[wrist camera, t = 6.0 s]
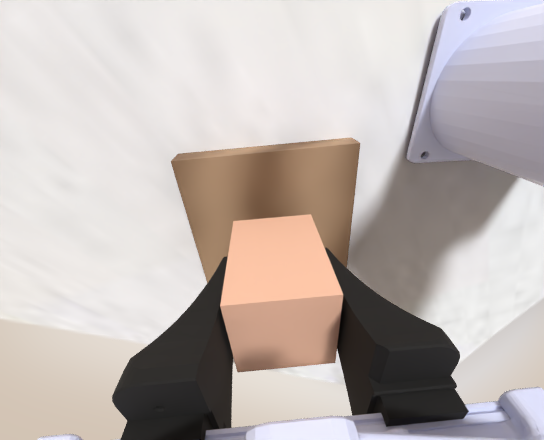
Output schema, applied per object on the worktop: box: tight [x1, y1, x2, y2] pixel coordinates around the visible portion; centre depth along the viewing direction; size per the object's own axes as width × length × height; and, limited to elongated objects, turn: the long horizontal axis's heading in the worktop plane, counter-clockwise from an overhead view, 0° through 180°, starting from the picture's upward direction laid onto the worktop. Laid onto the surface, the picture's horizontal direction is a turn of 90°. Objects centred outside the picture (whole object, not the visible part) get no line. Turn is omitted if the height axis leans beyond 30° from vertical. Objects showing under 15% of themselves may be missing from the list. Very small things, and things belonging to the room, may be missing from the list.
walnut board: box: [171, 138, 360, 283], centre depth 18 cm, size 11×11×2 cm
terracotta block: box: [220, 214, 343, 372], centre depth 12 cm, size 4×4×6 cm
